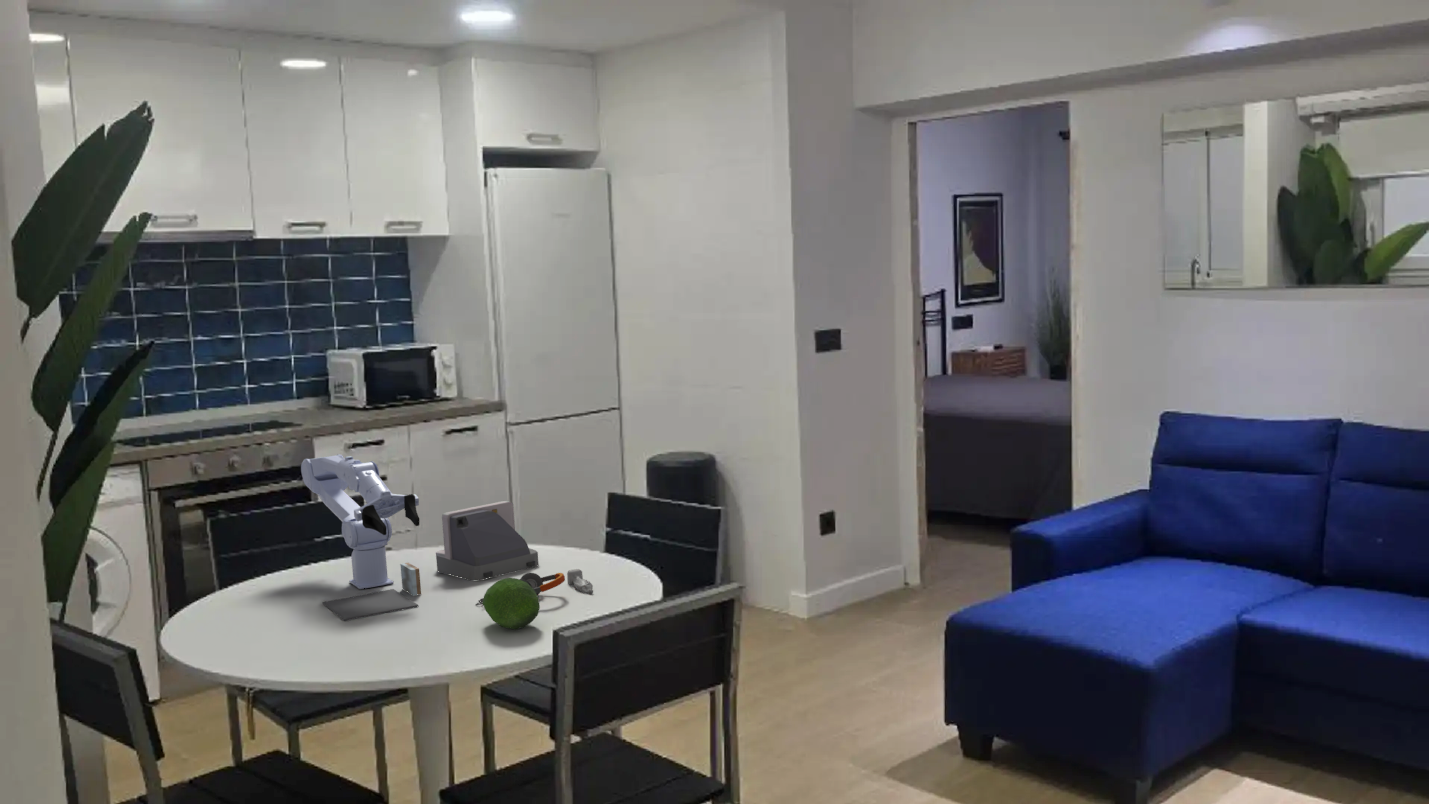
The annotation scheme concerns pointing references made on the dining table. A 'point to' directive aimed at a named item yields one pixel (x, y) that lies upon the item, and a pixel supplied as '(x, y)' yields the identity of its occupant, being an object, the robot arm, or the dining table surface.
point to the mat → (369, 604)
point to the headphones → (539, 582)
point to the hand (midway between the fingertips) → (401, 526)
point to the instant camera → (483, 543)
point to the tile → (410, 578)
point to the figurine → (579, 581)
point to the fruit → (511, 603)
